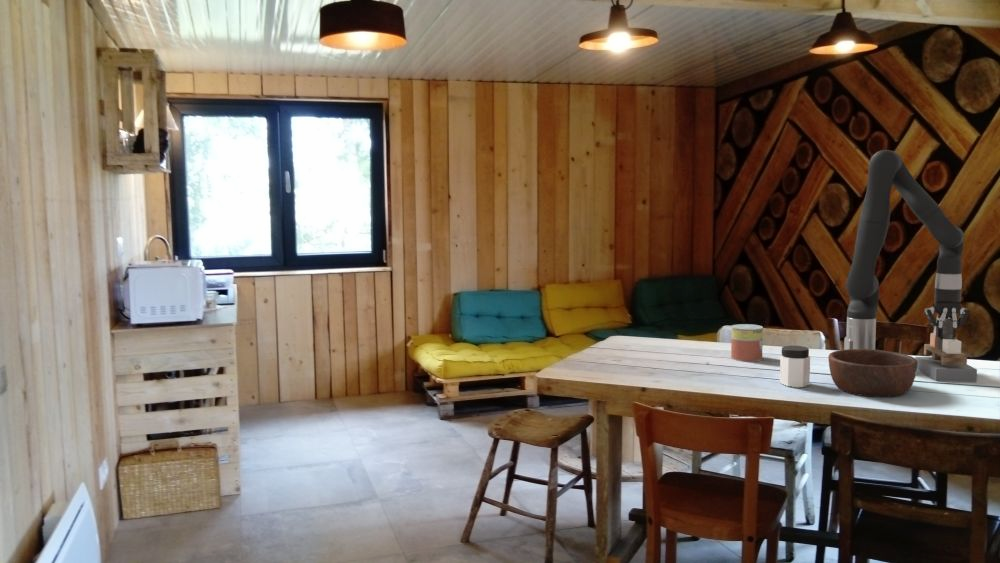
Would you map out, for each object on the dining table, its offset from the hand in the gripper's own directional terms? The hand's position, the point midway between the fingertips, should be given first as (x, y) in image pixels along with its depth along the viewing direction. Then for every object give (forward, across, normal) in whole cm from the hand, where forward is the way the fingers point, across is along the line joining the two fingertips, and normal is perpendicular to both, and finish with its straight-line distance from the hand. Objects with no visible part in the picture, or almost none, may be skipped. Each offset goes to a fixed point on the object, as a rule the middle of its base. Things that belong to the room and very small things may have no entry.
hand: (945, 338), depth 250 cm
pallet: (+7, 0, 0) cm, 7 cm away
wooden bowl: (+13, -29, -20) cm, 37 cm away
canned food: (+13, -60, +22) cm, 65 cm away
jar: (+13, -51, -16) cm, 55 cm away
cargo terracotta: (+4, 0, +5) cm, 6 cm away
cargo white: (+4, 0, -5) cm, 6 cm away
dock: (+12, 0, 0) cm, 12 cm away
